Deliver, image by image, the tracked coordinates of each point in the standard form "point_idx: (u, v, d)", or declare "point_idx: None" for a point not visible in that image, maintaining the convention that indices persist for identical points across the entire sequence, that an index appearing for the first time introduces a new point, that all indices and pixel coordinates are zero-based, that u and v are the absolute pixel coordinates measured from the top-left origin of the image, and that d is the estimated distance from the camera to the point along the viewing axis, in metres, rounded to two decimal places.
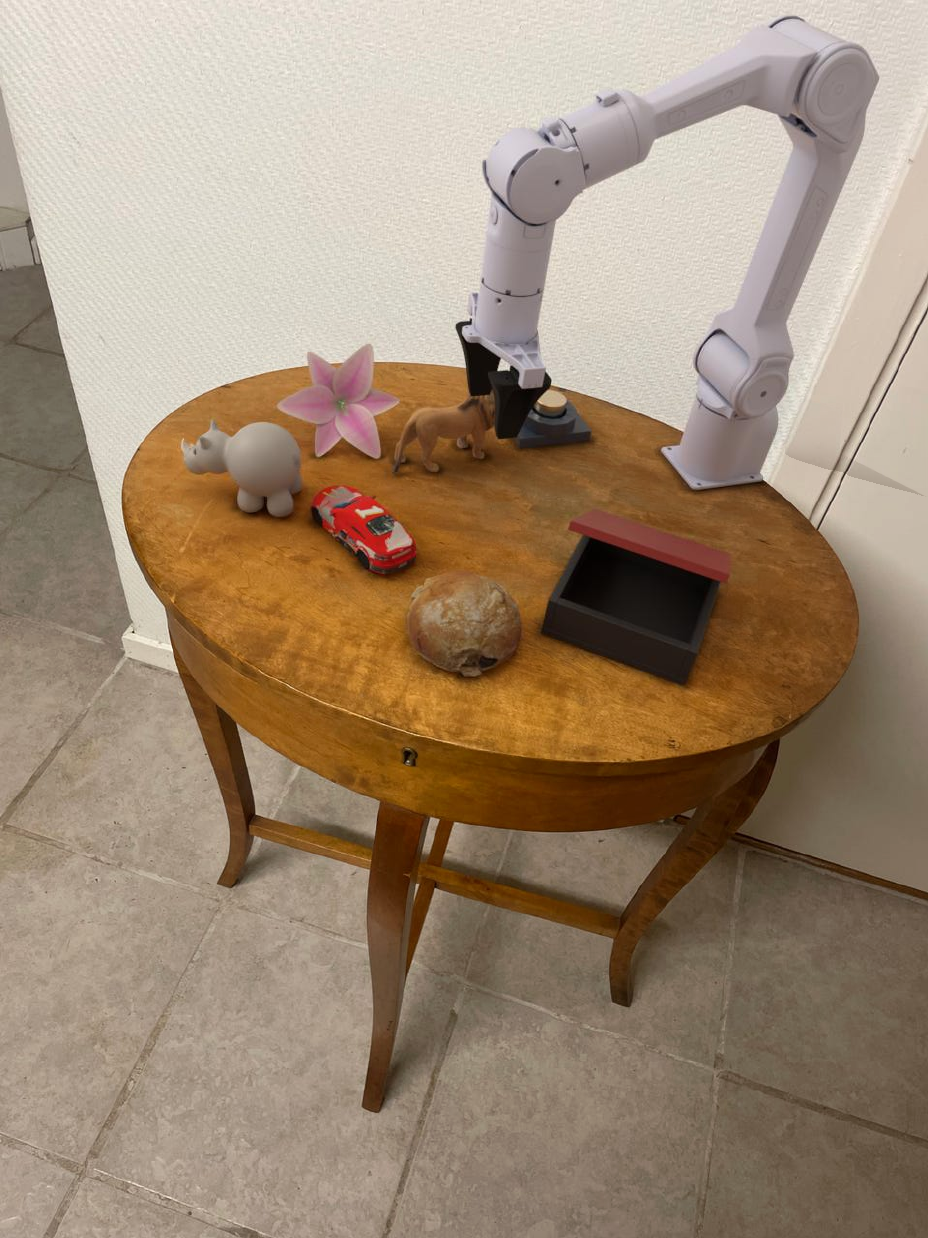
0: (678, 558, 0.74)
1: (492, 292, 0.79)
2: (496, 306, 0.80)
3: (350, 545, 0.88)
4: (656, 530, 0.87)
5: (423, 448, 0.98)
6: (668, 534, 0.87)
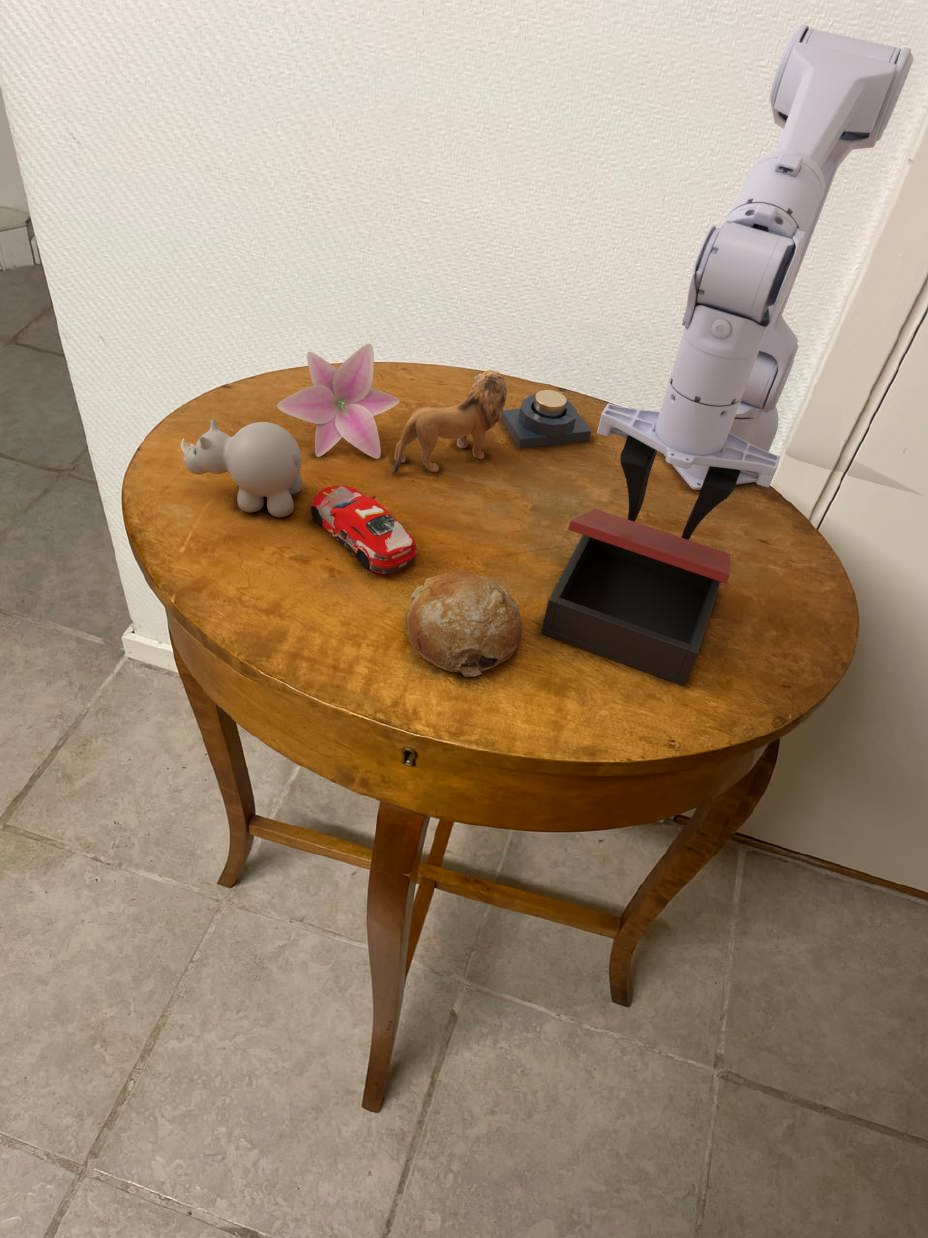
0: (678, 558, 0.74)
1: (717, 408, 0.69)
2: (719, 420, 0.70)
3: (350, 545, 0.88)
4: (656, 530, 0.87)
5: (423, 448, 0.98)
6: (668, 534, 0.87)
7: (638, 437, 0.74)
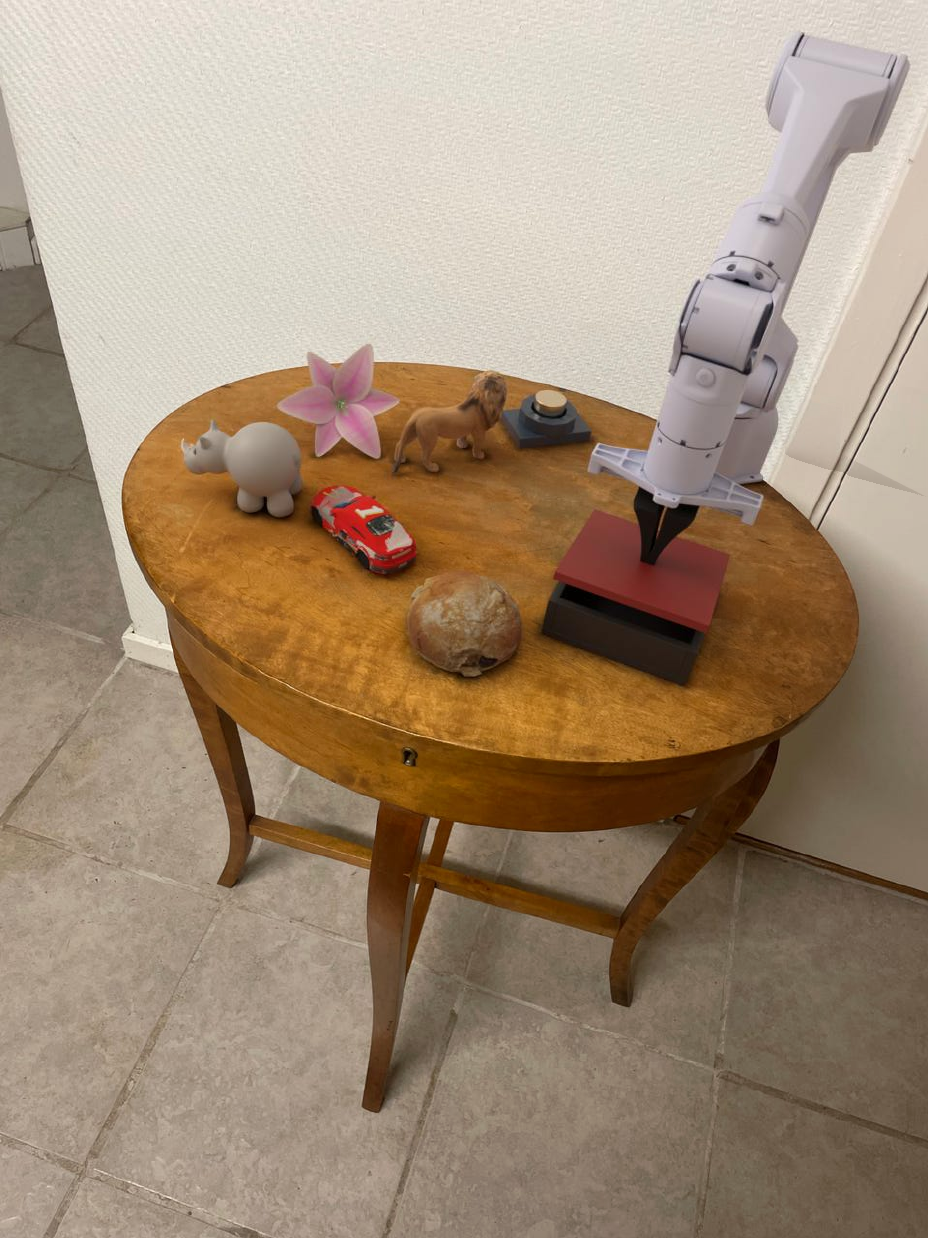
0: (659, 609, 0.76)
1: (702, 451, 0.72)
2: (704, 462, 0.72)
3: (350, 545, 0.88)
4: None
5: (423, 448, 0.98)
6: None
7: (627, 476, 0.76)
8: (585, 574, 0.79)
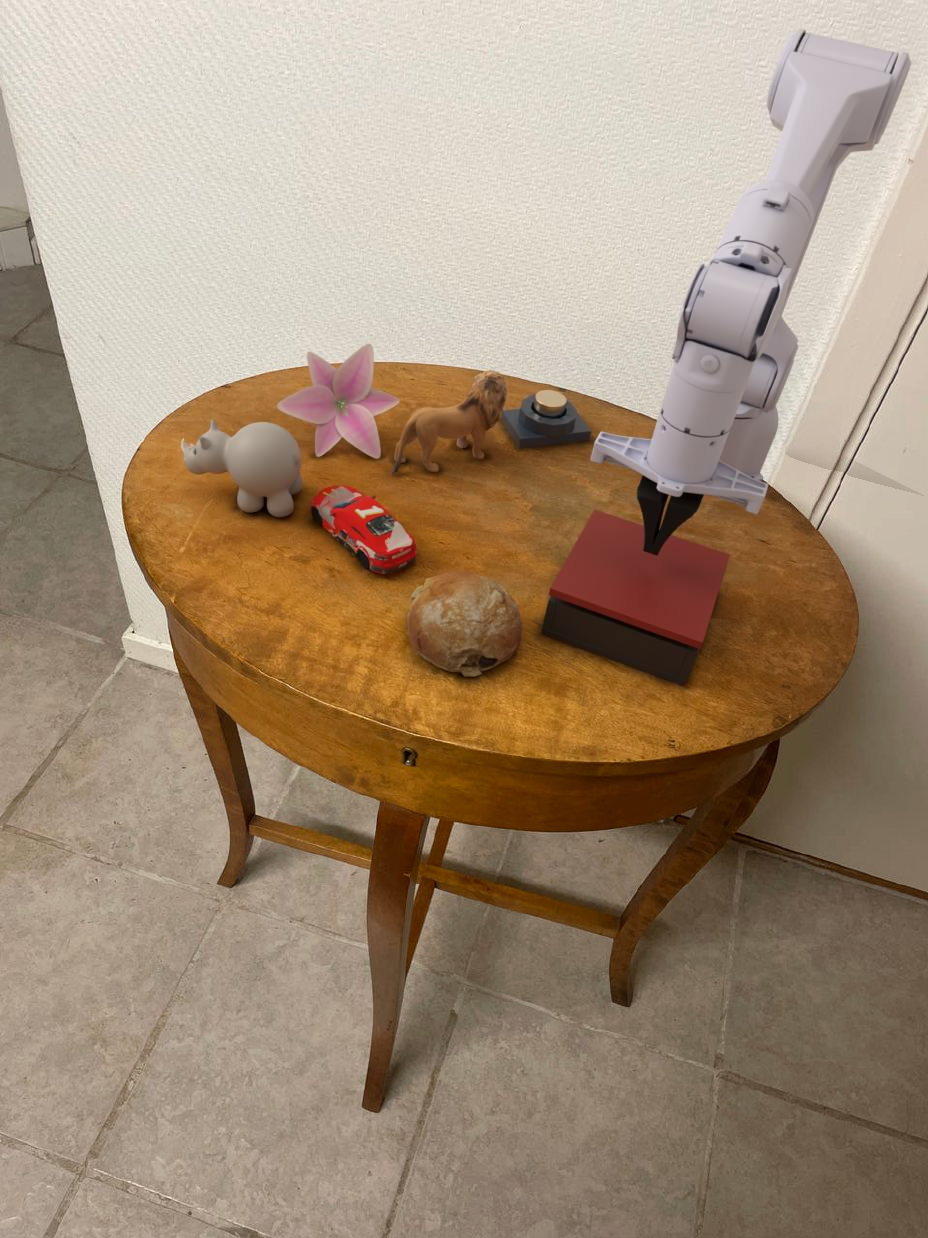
0: (653, 626, 0.77)
1: (707, 439, 0.71)
2: (709, 450, 0.72)
3: (350, 545, 0.88)
4: None
5: (423, 448, 0.98)
6: None
7: (630, 465, 0.76)
8: (580, 589, 0.79)
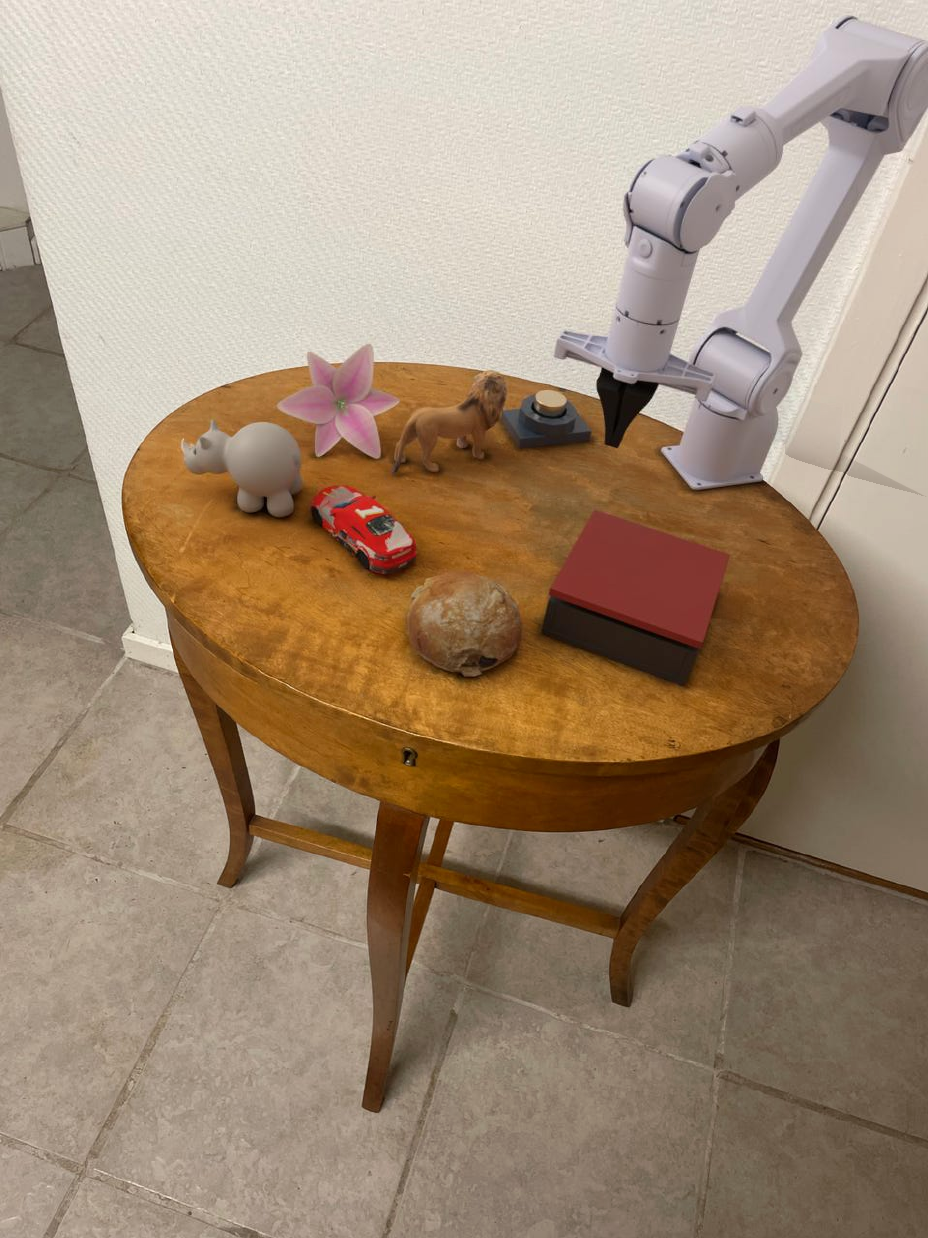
0: (653, 626, 0.77)
1: (657, 327, 0.77)
2: (659, 339, 0.78)
3: (350, 545, 0.88)
4: (654, 535, 0.87)
5: (423, 448, 0.98)
6: (666, 539, 0.87)
7: (589, 358, 0.82)
8: (580, 589, 0.79)
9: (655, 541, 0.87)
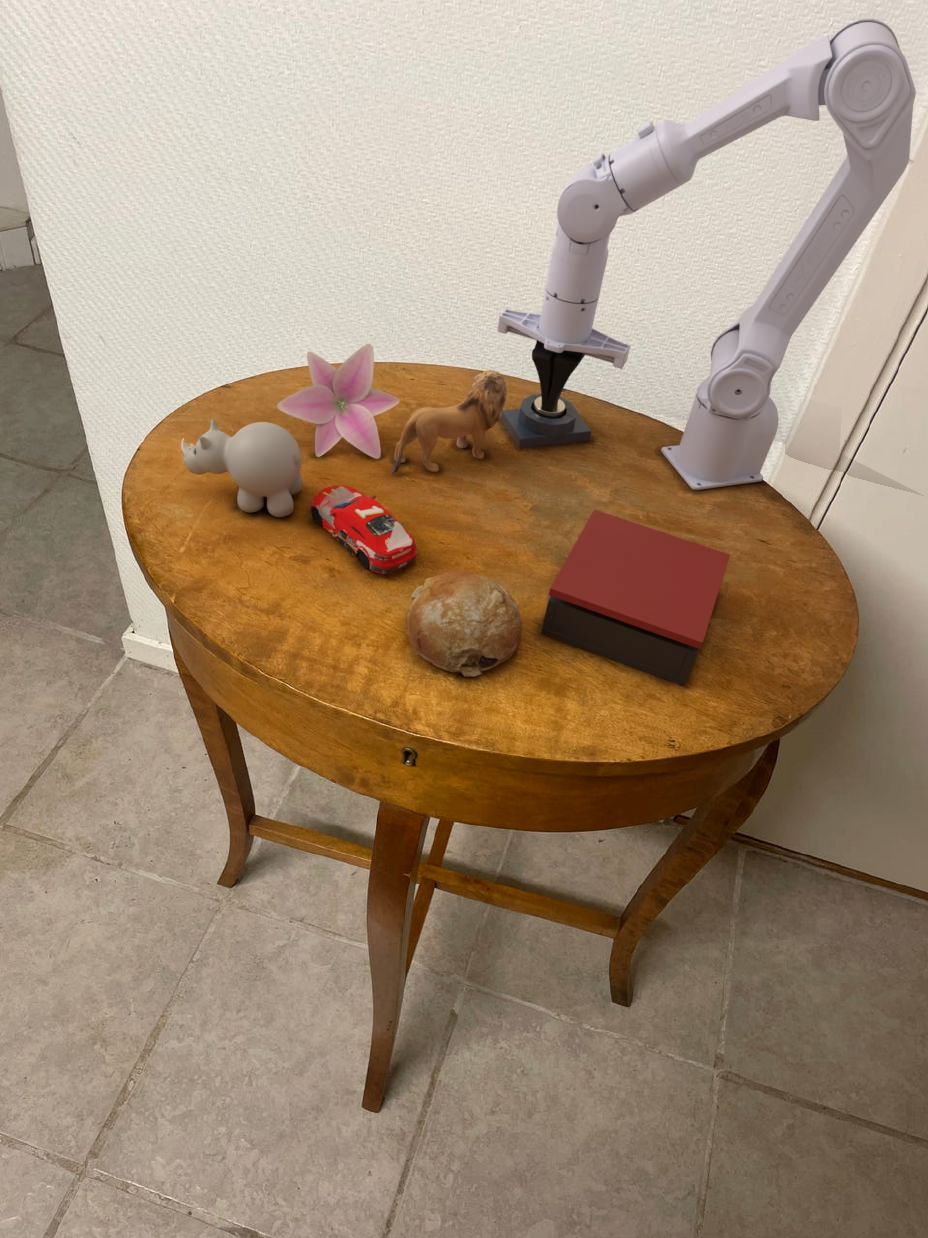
0: (653, 626, 0.77)
1: (578, 305, 0.94)
2: (581, 315, 0.95)
3: (350, 545, 0.88)
4: (654, 535, 0.87)
5: (423, 448, 0.98)
6: (666, 539, 0.87)
7: (525, 331, 0.99)
8: (580, 589, 0.79)
9: (655, 541, 0.87)
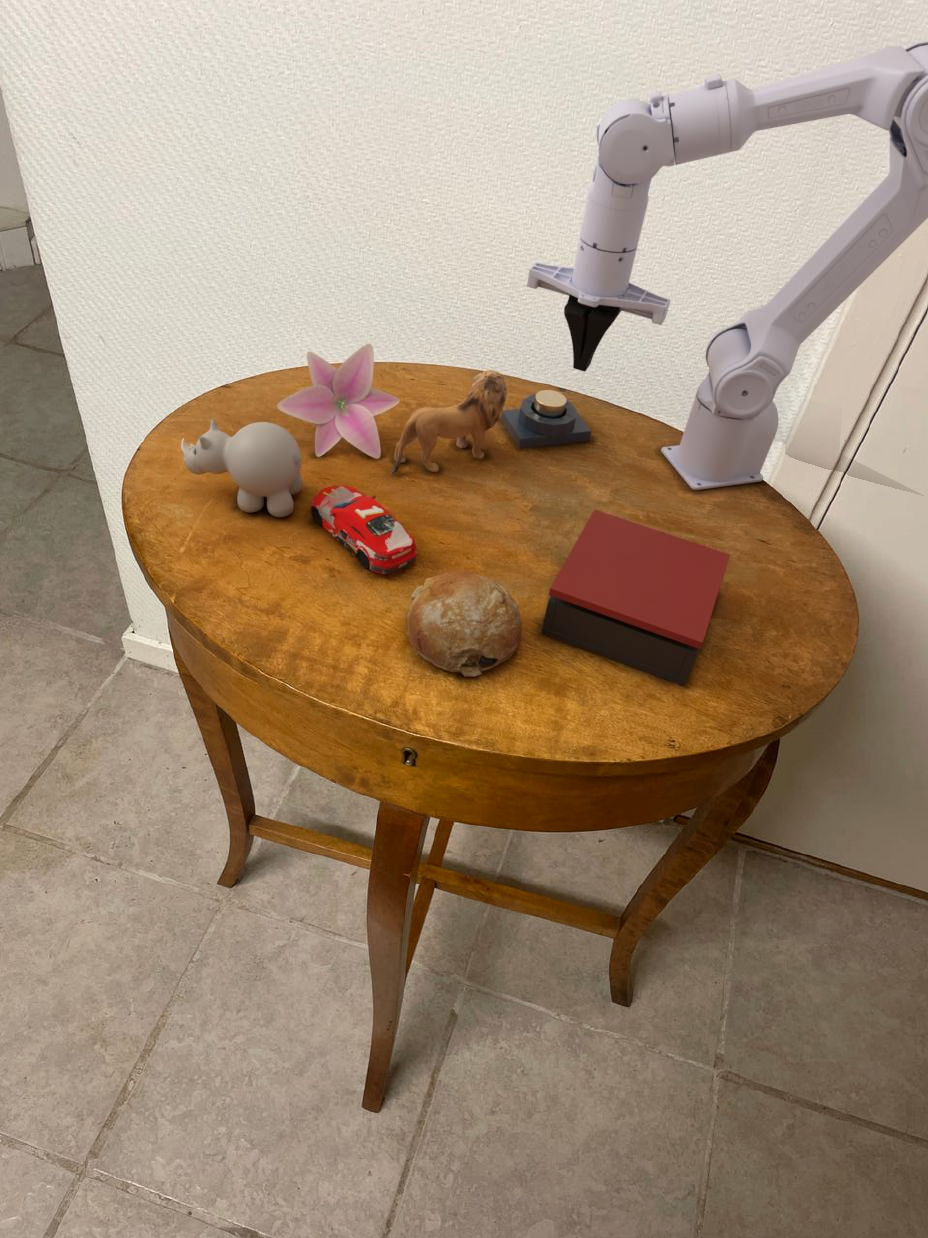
0: (653, 626, 0.77)
1: (615, 254, 0.87)
2: (618, 266, 0.88)
3: (350, 545, 0.88)
4: (654, 535, 0.87)
5: (423, 448, 0.98)
6: (666, 539, 0.87)
7: (558, 285, 0.92)
8: (580, 589, 0.79)
9: (655, 541, 0.87)
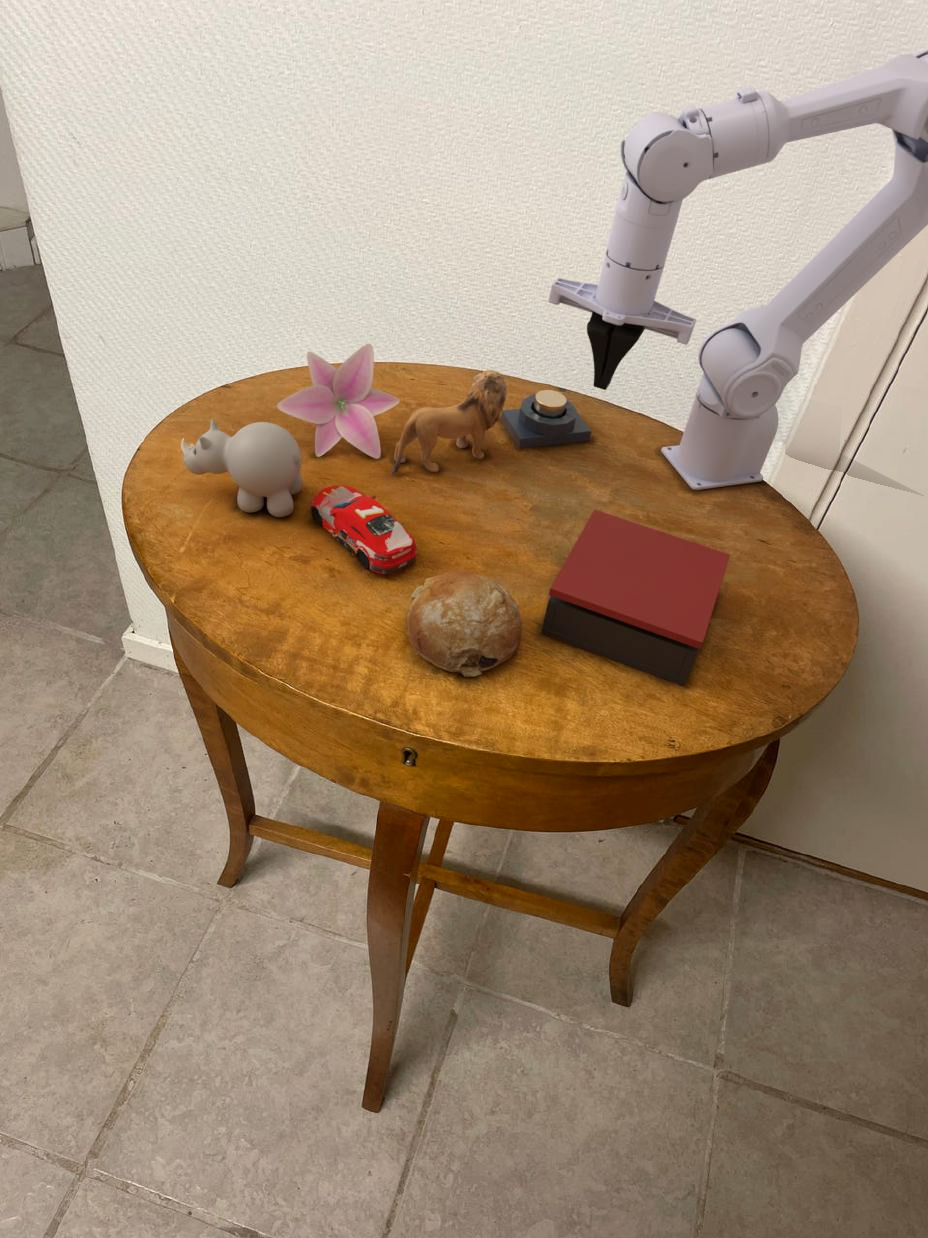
0: (653, 626, 0.77)
1: (643, 272, 0.85)
2: (645, 283, 0.86)
3: (350, 545, 0.88)
4: (654, 535, 0.87)
5: (423, 448, 0.98)
6: (666, 539, 0.87)
7: (581, 302, 0.90)
8: (580, 589, 0.79)
9: (655, 541, 0.87)
